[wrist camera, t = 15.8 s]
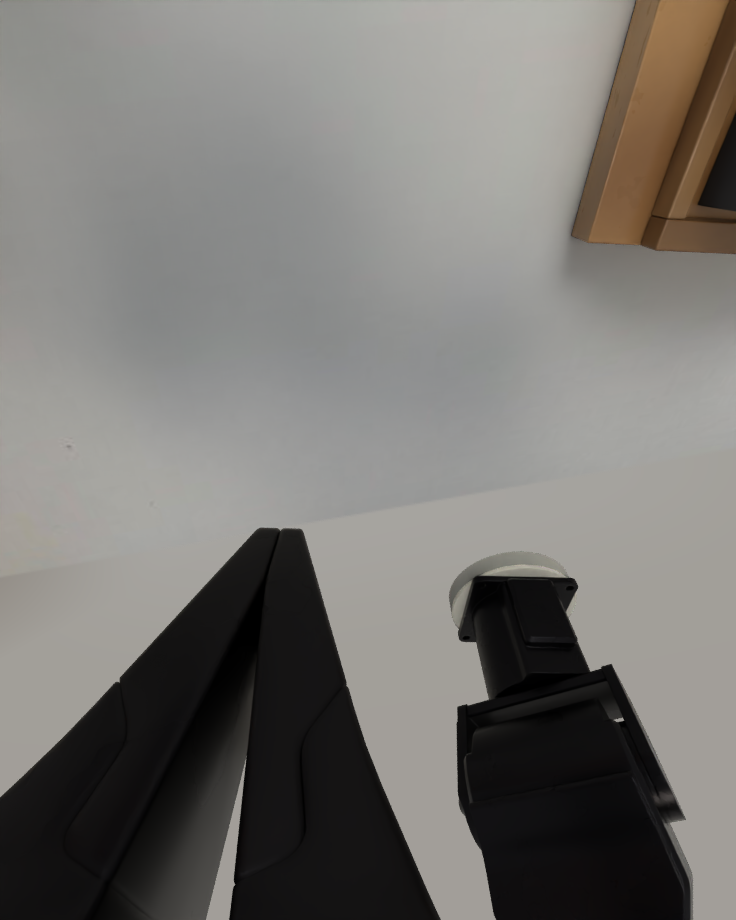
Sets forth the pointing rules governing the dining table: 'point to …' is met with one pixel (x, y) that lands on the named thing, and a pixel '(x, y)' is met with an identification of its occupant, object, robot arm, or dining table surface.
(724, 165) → the loose pad
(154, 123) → the dining table surface
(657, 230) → the sharpening stone on base
